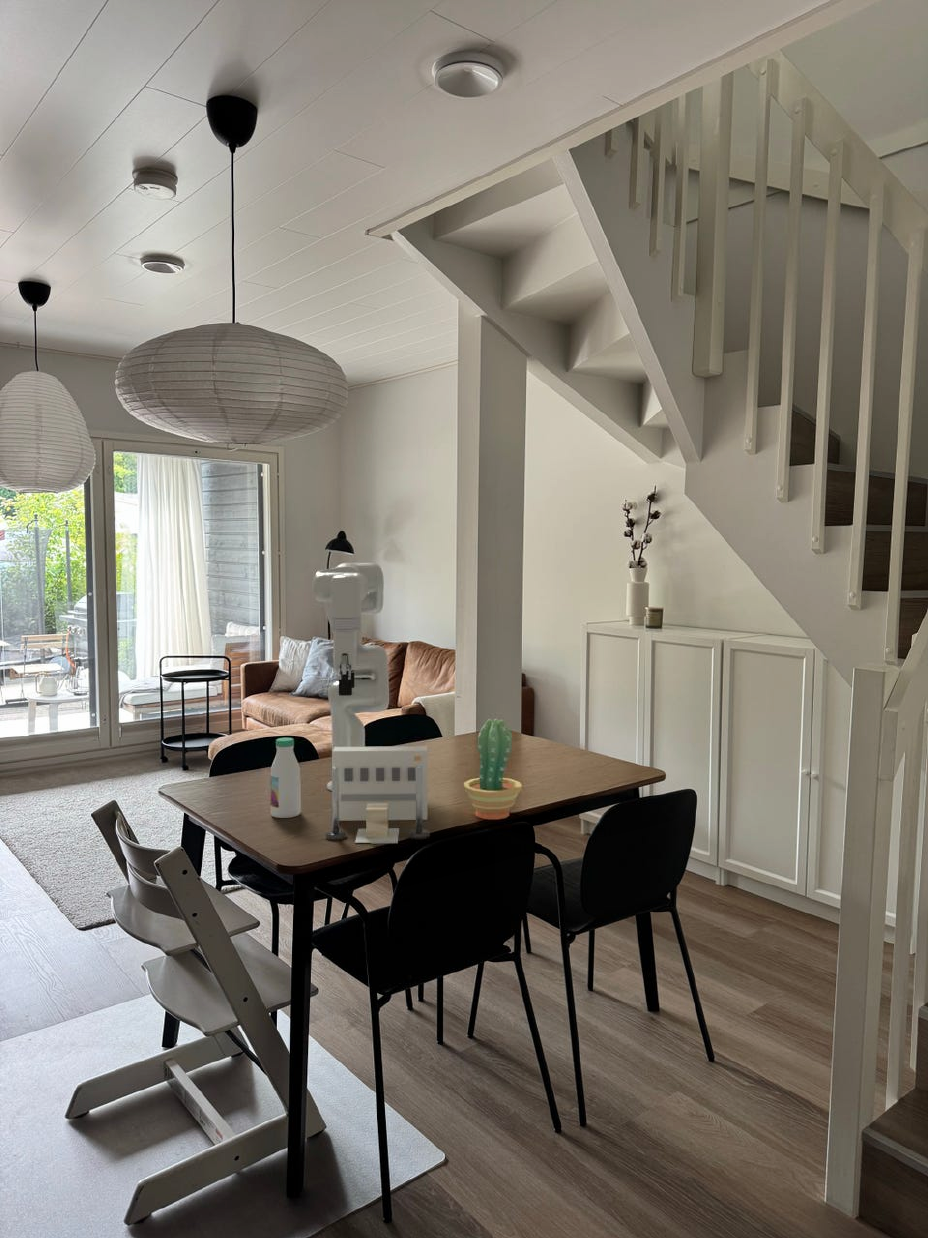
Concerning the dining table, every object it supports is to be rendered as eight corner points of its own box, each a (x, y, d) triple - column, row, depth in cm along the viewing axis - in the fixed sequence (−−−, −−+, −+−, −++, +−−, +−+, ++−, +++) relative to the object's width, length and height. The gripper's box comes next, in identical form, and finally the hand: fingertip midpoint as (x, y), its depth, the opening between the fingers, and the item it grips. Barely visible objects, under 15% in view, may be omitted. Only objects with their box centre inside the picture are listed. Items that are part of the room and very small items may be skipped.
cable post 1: (326, 834, 209) (325, 765, 208) (347, 833, 209) (346, 764, 208) (324, 840, 204) (323, 770, 203) (345, 840, 204) (344, 770, 203)
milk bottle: (303, 810, 229) (302, 735, 228) (298, 818, 221) (297, 742, 220) (273, 810, 229) (272, 736, 227) (268, 819, 221) (267, 742, 220)
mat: (358, 830, 212) (358, 828, 212) (399, 829, 212) (399, 828, 212) (355, 843, 202) (354, 842, 202) (397, 843, 202) (397, 841, 202)
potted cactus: (533, 813, 226) (534, 719, 224) (496, 827, 214) (496, 728, 213) (488, 802, 236) (489, 712, 234) (450, 815, 225) (450, 720, 223)
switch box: (335, 815, 225) (334, 746, 223) (427, 813, 226) (427, 746, 224) (333, 821, 219) (332, 752, 218) (427, 820, 220) (427, 751, 219)
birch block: (367, 831, 209) (367, 803, 209) (388, 831, 210) (388, 803, 209) (366, 838, 205) (366, 809, 204) (387, 838, 205) (387, 809, 204)
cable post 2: (408, 833, 210) (408, 764, 209) (429, 832, 210) (429, 764, 209) (408, 839, 205) (408, 769, 204) (429, 839, 205) (429, 769, 204)
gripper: (334, 620, 224) (334, 685, 226) (327, 628, 207) (328, 698, 209) (363, 620, 225) (363, 685, 227) (359, 628, 207) (359, 698, 209)
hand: (346, 691), depth 218 cm, fingers open, 9 cm apart
